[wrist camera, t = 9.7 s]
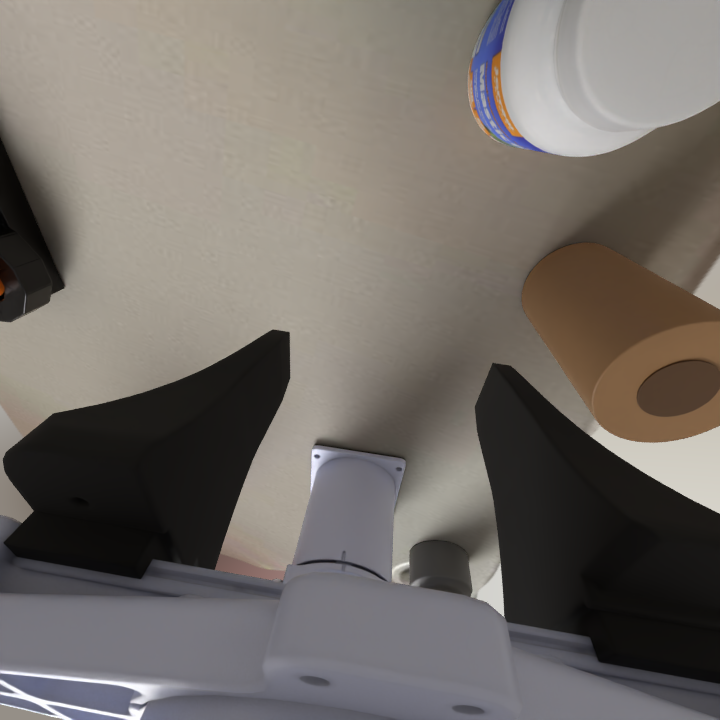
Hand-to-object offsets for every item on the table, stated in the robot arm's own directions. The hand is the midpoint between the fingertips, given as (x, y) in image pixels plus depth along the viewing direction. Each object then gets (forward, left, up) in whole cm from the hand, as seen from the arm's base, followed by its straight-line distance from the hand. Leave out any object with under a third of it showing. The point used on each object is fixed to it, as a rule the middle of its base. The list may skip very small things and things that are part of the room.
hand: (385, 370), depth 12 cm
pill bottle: (+10, -4, -10) cm, 14 cm away
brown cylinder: (+1, -10, -10) cm, 14 cm away
